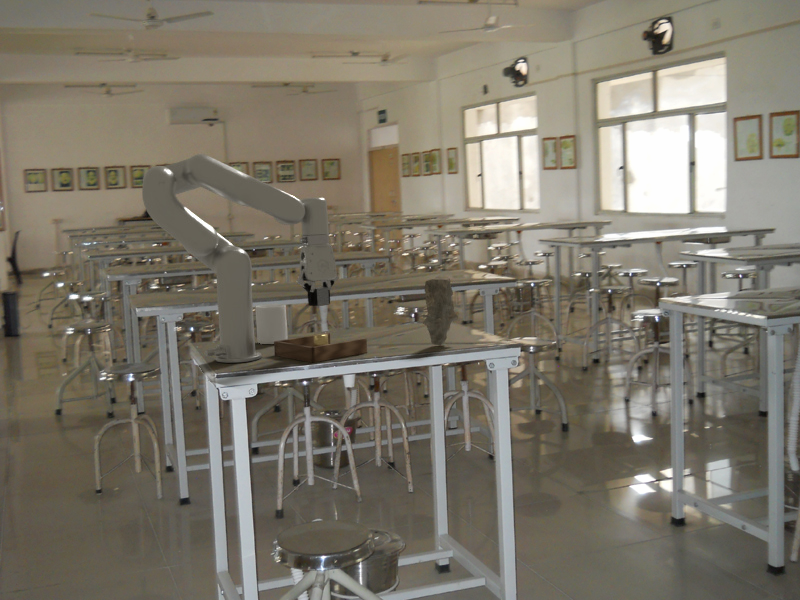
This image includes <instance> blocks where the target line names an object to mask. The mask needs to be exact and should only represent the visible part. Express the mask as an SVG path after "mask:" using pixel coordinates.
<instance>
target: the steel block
mask: <svg viewBox="0 0 800 600" xmlns="http://www.w3.org/2000/svg"><path fill="white" fill-rule="evenodd" d="M314 292H316V301H317V305H316V306H315V307H321V306H328V305H330V304H329V293H328V287H322V286H317V287H315V289H314Z"/></svg>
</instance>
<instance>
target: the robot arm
mask: <svg viewBox="0 0 800 600" xmlns="http://www.w3.org/2000/svg"><path fill="white" fill-rule="evenodd" d="M199 188H202V189H205V190H207V191H209V192H211V193H214V194H216V195H218V196H220V197H222V198H224V199H226V200H228V201H230V202H232V203H234V204H237V205H240V206H243V207H248V208H252V209H255V210H257V211H260V212H262V213H265V214H266V215H269V216H271V217H273V219H274V220H275V221H276V222H278V223H279V224H281V225H284V226H285V225H287V226H292V225H297V224H299V223H301V234H302V235H301V237H300V238H299V243H300V244H302V246H301V247H300V256H299V275H298V278H297V280H296V283H297V285H299V286H301V287H302V288H303V289H304V290H305V292H307V302H308V303H307V304H308V306H311V307H317V306H316V305H317V301H316V292H314V289H315V286H316V282H321V287H328V293H329V305H331V290H332V287H333V286H334V284H335V283H336V282H337V281H338V280H339V276H338V274H337V265H336V257H335V253H334V249H333V246H332V244H330V236H329V235H330V234H329V218H328V217H329V215H328V213H329V212H328V203H327V200H326V199H325V198H324V197H306V198H303V199H302V198H301V199H299V198H297V197H295V196H294V195H291V194H290V193H288V192H285V191H283V190H281V189H279V188H277V187H275V186H272V185H271V184H268V183H265V182H263V181H262V180H260V179H257V178H255V177H253V176H251V175H249V174H246V173H245V172H242V171H241V170H239V169H236V168H234V167H233V166H230V165H229V164H226V163H224V162H222V161H220V160H218V159H216V158H213V156H209V155H207V154H205V153H197V154H194V155H193V156H191V157H190V158H186V159H184V160H183V159H182V160H181V161H177V162H174V163H170V164H167V165H155V166H152V167H150V168H149V169H147V171H146V172H145V173H144V176H143V180H142V190H141V191H142V193H141V194H142V195H141V196H142V200H143V201H142V202H143V205H144V207H145V209H146V212H147V214H148V215H149V217H150V219H152V220H153V221H154V223H156V224H157V225H158V226H159V227H160V228H161V229H162V230H164V232H166V233H167V234H169V236H171V237H172V238H174V240H176V241H177V242H179V243H180V244H181V245H182V246H183V248H184V250H185V251H187V253H188V254H190V255H191V256H193V257H194V258H195V259H196V260H198V261H199V262H201V263H202V264H203V265H204V266H206V267H207V268H208V269H210V270H211V271H212V272H213V273H215V274H216V275H215V276H216V299H217V300H216V301H217V312H218V327H219V328H218V329H219V344H216V346H214V348H209V349H205V350H204V353H203V354H204V356H205V357H206V358H207V357H213V356H214V357H215V362H218V363H223V364H224V363H226V364H227V363H232V364H235V363H245V362H252V361H256V360H259V359H261V358H262V352H261V351H260V352H258V351H256V340H255V324H254V323H255V322H254V321H255V320H254V307H253V305H254V304H253V289H252V288H253V287H252V284H253V283H252V280H253V278H252V277H253V266H252V261H251V258H250V255H249V254H248V252H247V251H246V250H244V249H243V248H241V247H239V246H235V245H233V243H231V242H230V241H229V240H228V239H226V238H225V237H224V236H222V235H221V234H220V233H219V232H217V230H216V229H215V228H214V226H212V225H211V224H209V223H208V222H206V221H205V220H203V219H202V218H200V217H199V216H198V215H196V214H195V213H194V212H192V211H191V209H189V208H188V207H187V206H185V205H184V204H183V203H182V202H181V201H180V200H179V199H178V197H177V195H179V194H183V193H186V192H189V191H192V190H195V189H199Z"/></svg>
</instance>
